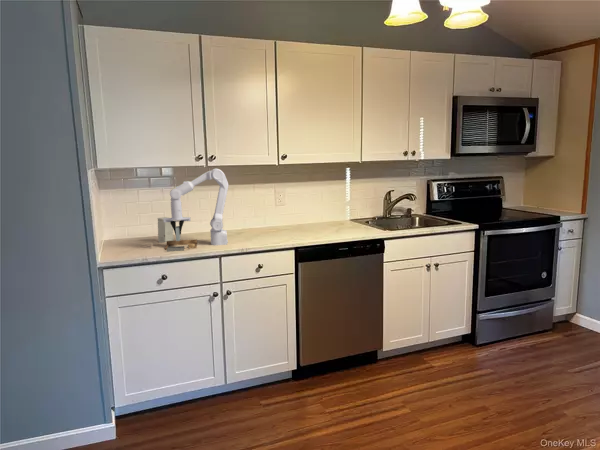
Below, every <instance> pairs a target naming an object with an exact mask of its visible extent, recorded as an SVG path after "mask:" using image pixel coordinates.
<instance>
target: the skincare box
mask: <svg viewBox="0 0 600 450" xmlns="http://www.w3.org/2000/svg"><path fill="white" fill-rule="evenodd" d="M164 218H168V217H167V216H164V217H163V216H162V217H157V241H158V243H167V241H174V229H173V227H172V225H171V222H164V221H163V219H164Z"/></svg>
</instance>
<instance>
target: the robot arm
mask: <svg viewBox="0 0 600 450" xmlns="http://www.w3.org/2000/svg"><path fill="white" fill-rule="evenodd" d="M206 180H207V181H209V180H211V181H212V180H214V181H215V182H216V183H217V185H218V186H219V188H218V193H217V198H216V199H217V200H216V204H215V209H214V213H213V215H212V216H213V217H212V219H211V220H210V222H209V225H210V227H211V229H210V245H211V246H225V245H228V243H229V242H228V233H227V231H228V230H227V229H223V228H224V223H223V219H224V218H223V216H224V215H223V214H224V210H225V205H226V204H225V203H226V202H227V201H226V200H227V196H228V191H229V182H228V179H227V177H226V174H225V173H224V172H223V170H221V169H219V168H213V169H210V170H208V171H206V172H204V173H203V174H201V175H199V176H197V177H196V178H194V179H193V180H191V181H189V180H184V181H183V182H182V184H179V185H178V186H177V185H176V186H175V188H172V189H170V192H169V195H170V212H171V217H167V218H164V219H163V221H164V222H171V225H172V227H173V233H174V234H175V236H176V226H177V224H176V223H177V222H178V226H179V229H180V231H179V233H180V236H181V235H182V228H183V226H184V223H185V222H191V221H192V220H191V217H190V216H188V217H187V216H186V217H184V216H183V208H182V200H181V199H182V198H181V197H182V196H185V195H187V194H188V193H190V192H191V191H194V187H195V186H198V185H199V184H201V183H203V182H205V181H206Z"/></svg>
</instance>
